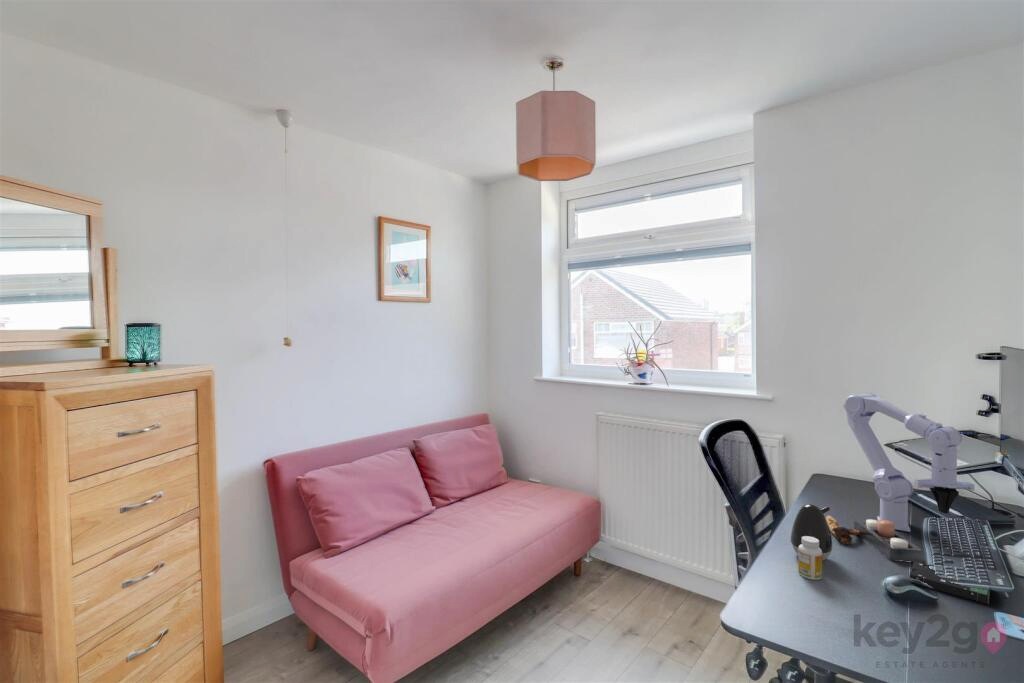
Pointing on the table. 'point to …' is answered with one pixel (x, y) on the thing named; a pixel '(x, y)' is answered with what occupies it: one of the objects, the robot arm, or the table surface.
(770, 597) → the table surface
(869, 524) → the knob
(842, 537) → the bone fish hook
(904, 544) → the knob
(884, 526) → the brown egg
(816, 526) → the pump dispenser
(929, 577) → the disk drive
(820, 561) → the supplement bottle
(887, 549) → the panel
